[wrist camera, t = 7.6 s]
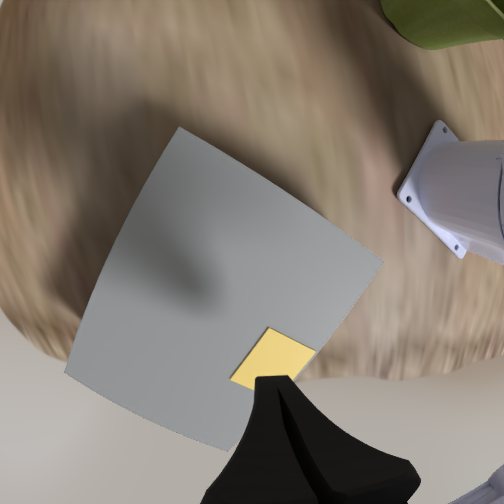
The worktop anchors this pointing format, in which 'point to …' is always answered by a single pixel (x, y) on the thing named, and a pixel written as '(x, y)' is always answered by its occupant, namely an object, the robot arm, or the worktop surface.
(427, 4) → the plant pot
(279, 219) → the lid
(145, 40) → the worktop surface
